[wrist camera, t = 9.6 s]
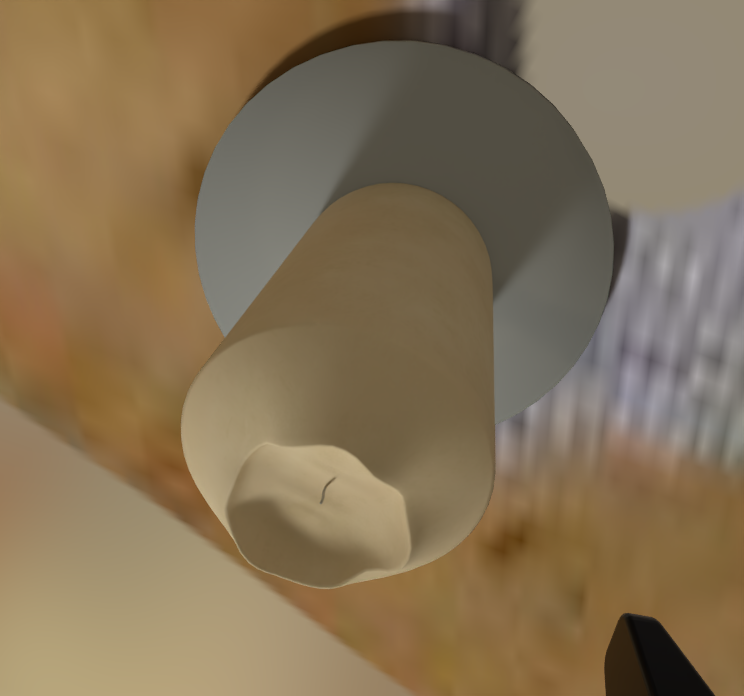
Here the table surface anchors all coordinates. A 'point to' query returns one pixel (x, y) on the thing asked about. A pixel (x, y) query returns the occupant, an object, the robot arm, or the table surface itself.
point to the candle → (355, 396)
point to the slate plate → (425, 169)
